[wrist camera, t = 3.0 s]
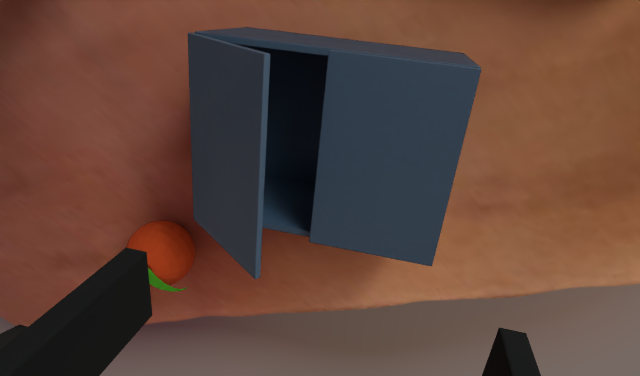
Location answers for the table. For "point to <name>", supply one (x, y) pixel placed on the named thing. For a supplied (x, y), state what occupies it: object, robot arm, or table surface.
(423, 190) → the carton
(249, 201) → the flap
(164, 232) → the clementine
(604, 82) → the table surface
